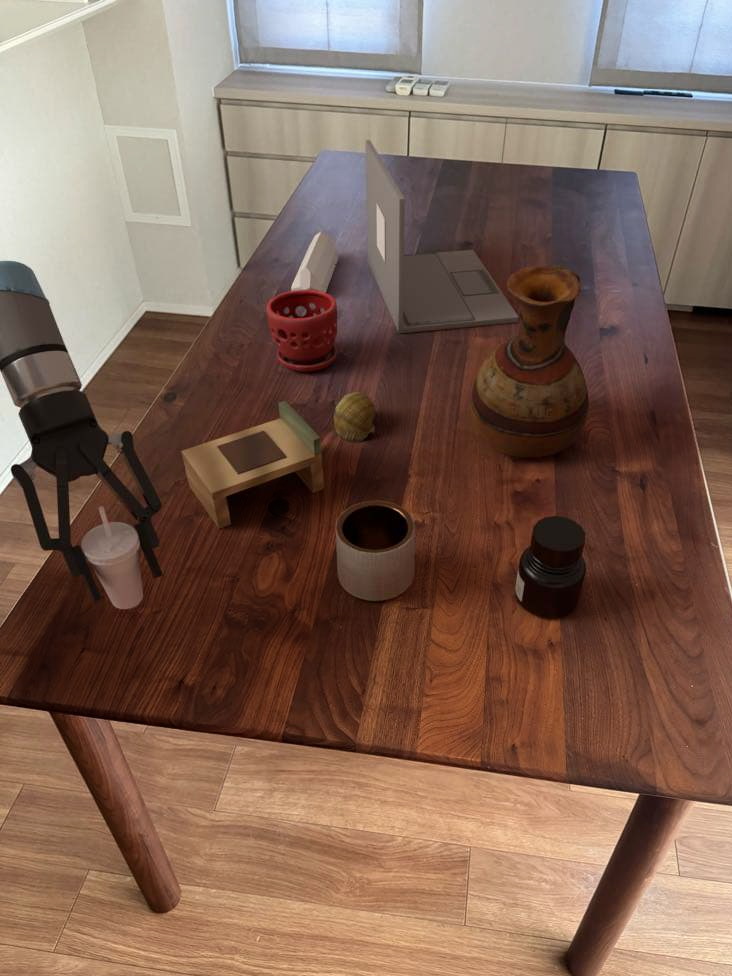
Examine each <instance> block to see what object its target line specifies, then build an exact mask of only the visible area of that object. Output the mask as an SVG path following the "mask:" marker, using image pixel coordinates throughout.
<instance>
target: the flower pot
mask: <svg viewBox="0 0 732 976" xmlns="http://www.w3.org/2000/svg"><path fill="white" fill-rule="evenodd" d="M310 304H313V305H314V306H315V307H314V308H312V307H311V305H310ZM337 305H338V304H337V301H336V299H335V297H333V296H332V295H331V294H328V293H327V292H326V293H324V292H320V291H315V290H296V291H291V290H289V291H287V292H283V293H280V294H278V295H276V296H274V297H272V299H270V300H269V301H268V302H267V304H266V316H267V322H268V325H269V326H268V327H269V331H270V335H271V337H272V340H273V342H274V345H275V346H276V348H277V353H276V356H277V360H278V361H279V363H280V364H281V365H282V366H283V367H285V368H287V369H289V370H290V371H291V370H292V371H296V372H301V373H303V372H305V373H308V372H316V371H319V370H322V369H324V368H327V367H328V366H330V365H331V364H332V363H333V362H334V361H335V359H336V357H337V355H338V349H337V346H336V345H335V342H336V338H337V334H338V307H337ZM298 307H302V308H304V309H305V311H306V312H305V314H304V315H298V314H297V312H296V310H297V308H298ZM286 308H288V311H287V312H286V313H285V309H286ZM321 309H323V310H324V312H321ZM314 314H315V315H314Z"/></svg>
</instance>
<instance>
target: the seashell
mask: <svg viewBox="0 0 732 976" xmlns="http://www.w3.org/2000/svg"><path fill="white" fill-rule="evenodd" d="M375 415H376V407H375V404H374V401H373V400H372V399H371V398H370V396H368V394H366V393H364V392H361V391H354V392H351V393H348V394H344V395H343V397H342V398H341V400H340V401H339V402H338V403H337V405H336V407H335V409H334V413H333V424H334V430H335V433H336V434H337V435H338V436H339V437H340V438H342V439H344V440H345V441H348V442H353V443H354V442H357V443H359V442H362V441H364V439H366V438H367V437H368V435H369V434H370V433H371V434H373V435H375V432H376V431H375V430H376V425H374V424H373V419H374V417H375Z"/></svg>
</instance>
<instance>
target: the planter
mask: <svg viewBox="0 0 732 976" xmlns="http://www.w3.org/2000/svg"><path fill="white" fill-rule="evenodd" d="M334 529H335V545H336V546H335V549H336V571H337V572H336V573H337V577H338V580H339V584H340V585H341V587H342V589H344V591H346V592H347V593H348V594H350V595H351V596H353V597H355V598H357V599H360V600H364V601H369V602H382V601H388V600H391V599H394V598H396V597H399V596H401V595H402V594H404V593H406V591H407V590H408V589H409V588H410V586H411V585H412V583H413V580H414V577H415V570H416V569H415V567H416V566H415V565H416V564H415V563H416V562H415V561H416V560H415V559H416V558H415V557H416V556H415V555H416V554H415V553H416V552H415V551H416V547H415V546H416V543H415V542H416V540H415V539H416V525H415V520H414V517H413V516H412V515H411V514H410V512H409V511H408V510H407V509H405V508H403V507H402V506H400V505H399V504H396V503H393V502H390V501H385V500H367V501H362V502H359V503H355V504H353V505H351V506H349V507H348V508H346V509H345V510H344V511H342V512H341V514H339V516H338V518H337V519H336V522H335V527H334Z"/></svg>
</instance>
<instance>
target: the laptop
mask: <svg viewBox="0 0 732 976" xmlns="http://www.w3.org/2000/svg"><path fill="white" fill-rule="evenodd" d="M365 179H366V180H365V187H366V189H365V190H366V191H365V193H366V237H367V239H366V241H367V245H366V246H367V263H368V266H369V268H370V270H371V273H372V275H373V277H374V279H375V282H376V284H377V286H378V289H379V292H380V293H381V296H382V298H383V300H384V303H385V305H386V307H387V310H388V312H389V314H390V317H391V319H392V321H393V324H394V326H395V328H396V330H397V333H398V335H400V334H410V333H420V332H431V331H440V330H441V331H442V330H453V329H461V328H464V329H465V328H473V327H474V328H475V327H484V326H493V325H504V324H516V323H519V318H520V316H519V315H518V313H517V312H516V311H515V309H514V308H513V306H512V305H511V304H510V302H509V300H508V299H507V298H506V296H505V294H504V293H503V291H502V290H501V289H500V287H499V286H498V284H497V283H496V281H495V280H494V278H493V277H492V275H491V274H490V272H489V271H488V269H487V268H486V266H485V265H484V264H483V262H482V260H481V259H480V257H479V256H478V255H477V253H476V251H475V250H474V249H465V250H452V251H440V252H428V253H425V252H424V253H414V254H405V219H406V218H405V216H406V215H405V212H406V211H405V210H406V209H405V207H406V206H405V205H406V199H405V197H404V195H403V194H402V192H401V190H400V188H399V187H398V185H397V183H396V182H395V179H394V178H393V176H392V174H391V172H389V170H388V168H387V166H386V165H385V163H384V161H383V159H382V158H381V156H380V154H379V152H378V151H377V149H376V148H375V146H374V144H373V142H372V140H370V139H368V140H365Z"/></svg>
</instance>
